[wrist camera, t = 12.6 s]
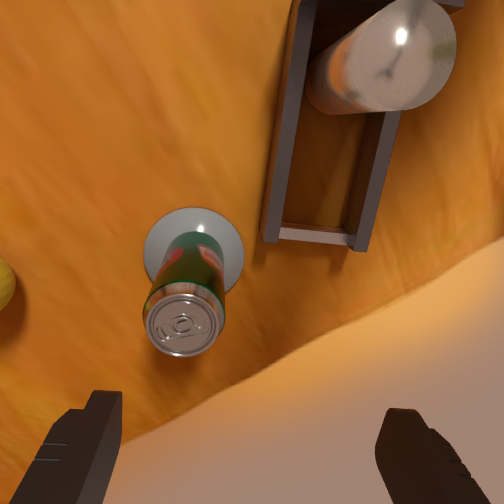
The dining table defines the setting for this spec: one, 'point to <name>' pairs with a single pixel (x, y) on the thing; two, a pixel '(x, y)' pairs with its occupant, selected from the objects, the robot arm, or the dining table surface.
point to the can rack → (289, 99)
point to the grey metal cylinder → (385, 61)
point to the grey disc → (200, 222)
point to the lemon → (6, 283)
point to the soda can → (187, 297)
